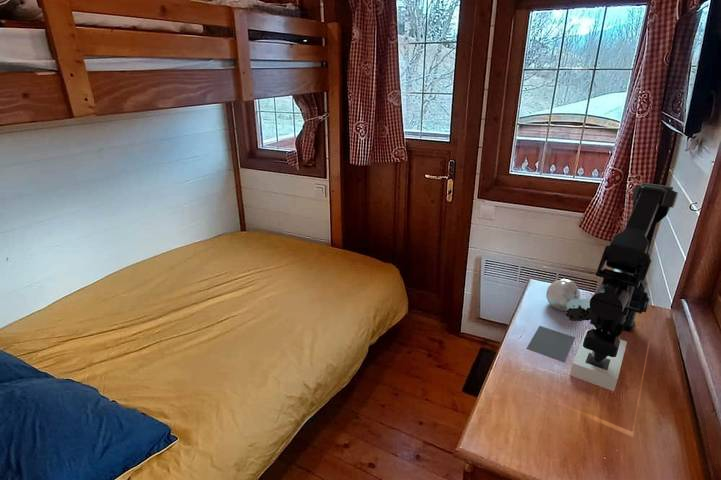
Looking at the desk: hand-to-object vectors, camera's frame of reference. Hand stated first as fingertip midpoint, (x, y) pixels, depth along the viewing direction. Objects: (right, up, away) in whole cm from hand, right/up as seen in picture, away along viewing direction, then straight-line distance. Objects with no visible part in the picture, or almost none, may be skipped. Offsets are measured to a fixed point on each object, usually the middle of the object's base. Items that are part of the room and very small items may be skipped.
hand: (598, 357), depth 98 cm
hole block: (+2, -3, +5) cm, 6 cm away
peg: (0, -3, +1) cm, 3 cm away
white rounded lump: (+4, +6, +28) cm, 29 cm away
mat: (-5, 0, +12) cm, 13 cm away
